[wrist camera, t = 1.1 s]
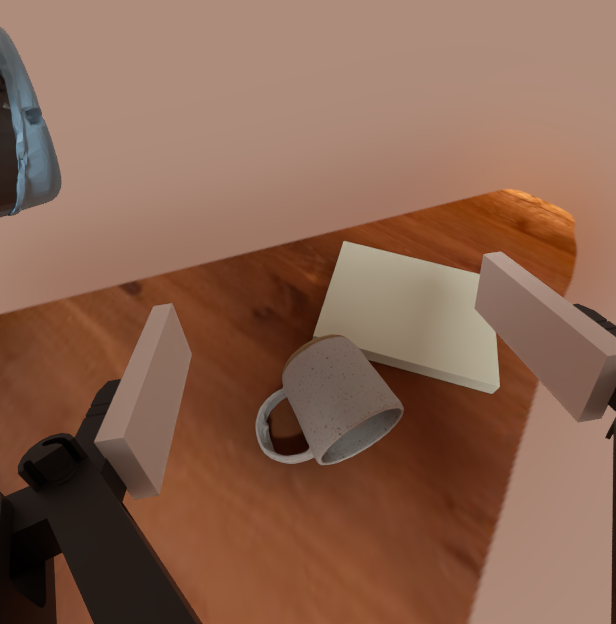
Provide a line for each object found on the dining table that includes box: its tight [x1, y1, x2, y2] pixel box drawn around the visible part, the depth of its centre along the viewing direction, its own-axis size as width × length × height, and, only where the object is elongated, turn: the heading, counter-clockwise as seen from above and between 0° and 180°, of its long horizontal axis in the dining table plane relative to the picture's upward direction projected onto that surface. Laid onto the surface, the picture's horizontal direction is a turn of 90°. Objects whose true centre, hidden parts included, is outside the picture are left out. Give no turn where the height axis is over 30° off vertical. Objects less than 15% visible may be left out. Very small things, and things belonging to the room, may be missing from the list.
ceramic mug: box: [256, 334, 404, 465], centre depth 29 cm, size 11×8×8 cm
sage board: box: [312, 241, 500, 394], centre depth 40 cm, size 18×15×2 cm
